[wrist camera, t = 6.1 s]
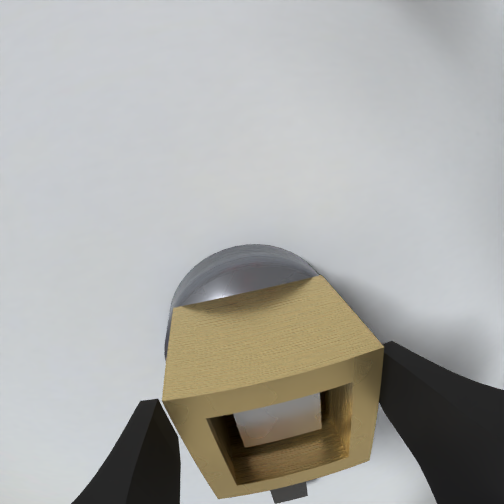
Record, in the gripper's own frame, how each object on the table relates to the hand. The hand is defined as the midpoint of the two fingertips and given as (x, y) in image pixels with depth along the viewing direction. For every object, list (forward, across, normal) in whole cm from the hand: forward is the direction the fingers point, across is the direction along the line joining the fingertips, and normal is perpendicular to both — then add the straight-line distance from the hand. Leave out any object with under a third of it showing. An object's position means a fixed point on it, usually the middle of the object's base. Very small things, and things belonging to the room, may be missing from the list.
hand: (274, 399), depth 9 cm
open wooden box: (+2, 0, 0) cm, 2 cm away
